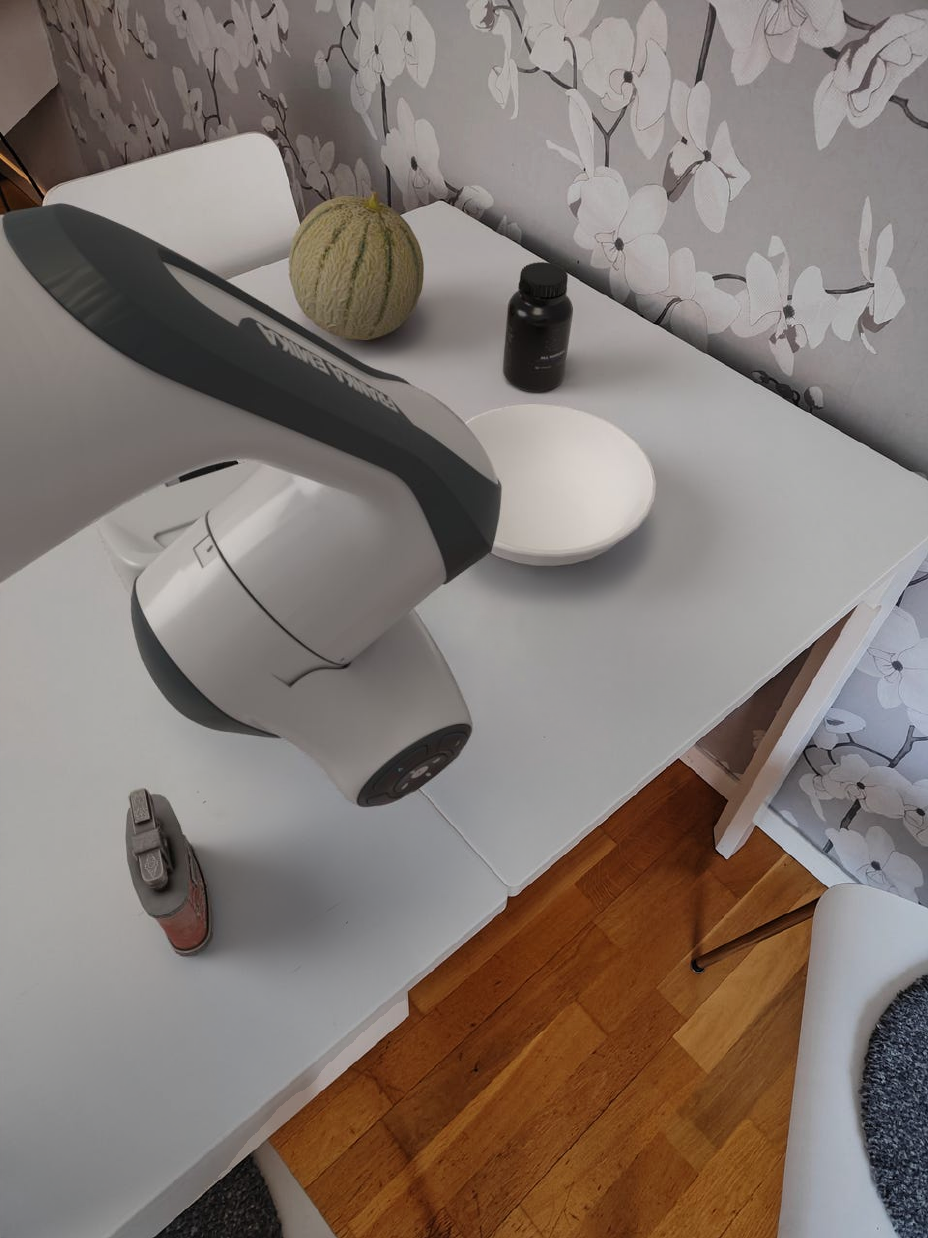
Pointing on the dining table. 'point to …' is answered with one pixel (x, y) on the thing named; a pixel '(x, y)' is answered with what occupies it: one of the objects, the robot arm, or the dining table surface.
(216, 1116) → the dining table surface
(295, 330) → the robot arm
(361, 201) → the cantaloupe
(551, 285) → the supplement bottle
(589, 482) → the bowl
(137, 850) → the lighter
